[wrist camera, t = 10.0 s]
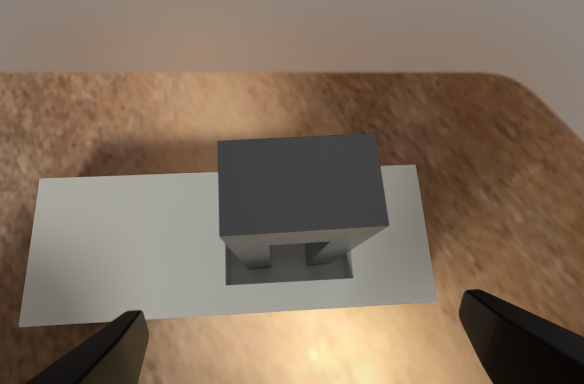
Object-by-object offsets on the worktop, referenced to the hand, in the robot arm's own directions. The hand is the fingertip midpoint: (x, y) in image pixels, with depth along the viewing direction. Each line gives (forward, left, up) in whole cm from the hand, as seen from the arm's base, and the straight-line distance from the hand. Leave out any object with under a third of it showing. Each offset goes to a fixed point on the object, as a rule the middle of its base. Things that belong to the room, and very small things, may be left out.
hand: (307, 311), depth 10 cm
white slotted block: (-1, +5, -13) cm, 14 cm away
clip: (+2, +3, -12) cm, 13 cm away
